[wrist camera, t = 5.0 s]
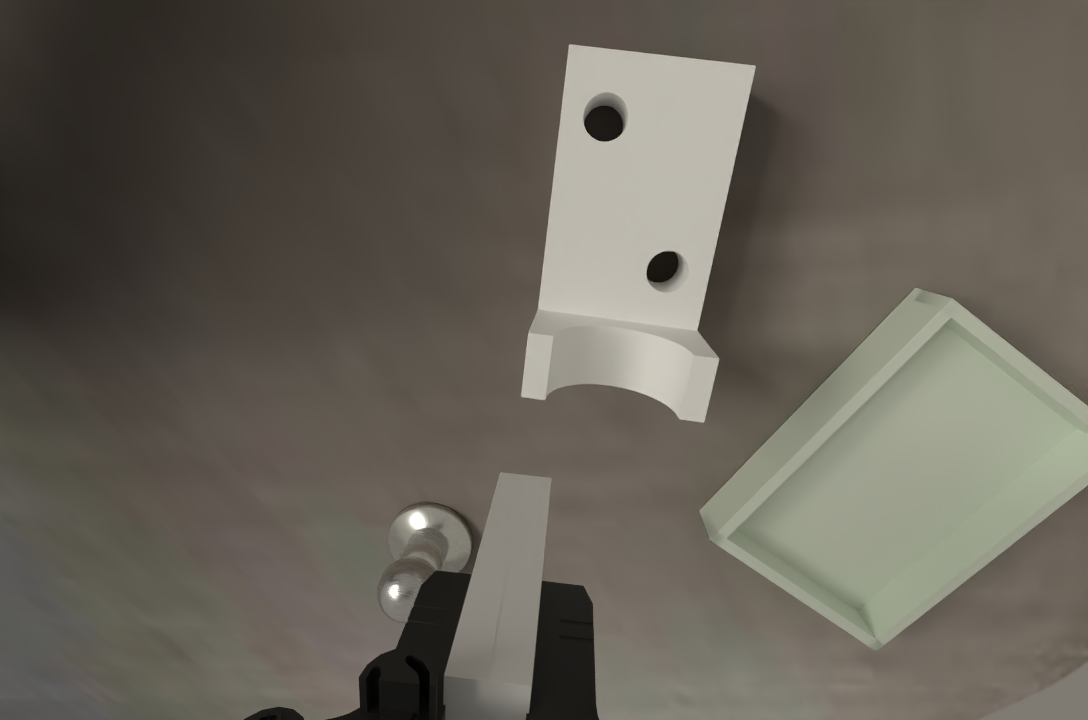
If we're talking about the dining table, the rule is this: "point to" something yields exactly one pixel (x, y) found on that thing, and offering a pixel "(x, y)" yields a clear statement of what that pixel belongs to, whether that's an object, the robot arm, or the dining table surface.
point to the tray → (905, 471)
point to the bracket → (636, 226)
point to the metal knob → (421, 554)
